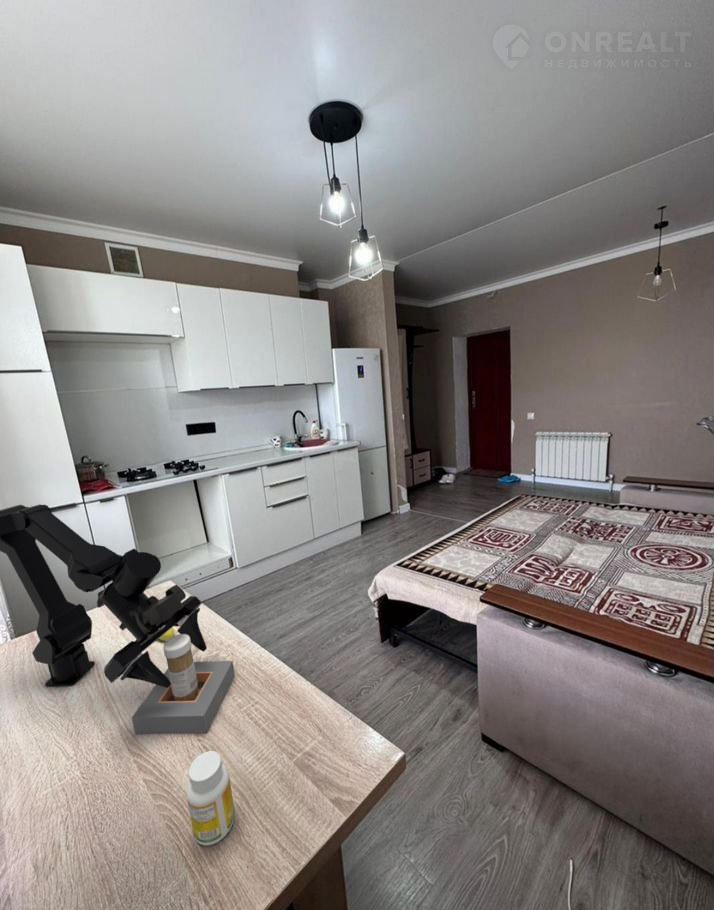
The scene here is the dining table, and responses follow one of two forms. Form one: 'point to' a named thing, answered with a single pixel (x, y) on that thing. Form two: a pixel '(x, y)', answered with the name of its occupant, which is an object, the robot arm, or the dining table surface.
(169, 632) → the lemon
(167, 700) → the collar block
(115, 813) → the dining table surface
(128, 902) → the dining table surface
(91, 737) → the dining table surface
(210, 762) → the supplement bottle
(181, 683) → the sprinkles bottle
